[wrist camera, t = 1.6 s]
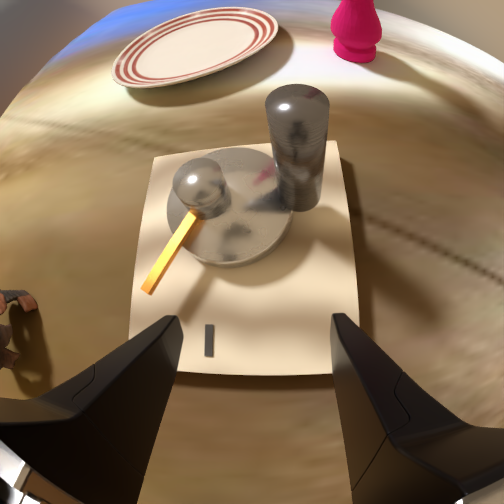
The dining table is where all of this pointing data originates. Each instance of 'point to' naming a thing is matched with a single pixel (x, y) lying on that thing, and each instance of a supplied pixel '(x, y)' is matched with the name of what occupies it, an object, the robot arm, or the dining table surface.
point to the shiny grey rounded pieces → (249, 188)
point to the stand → (252, 285)
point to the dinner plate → (193, 46)
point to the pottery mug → (3, 333)
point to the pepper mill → (356, 30)
